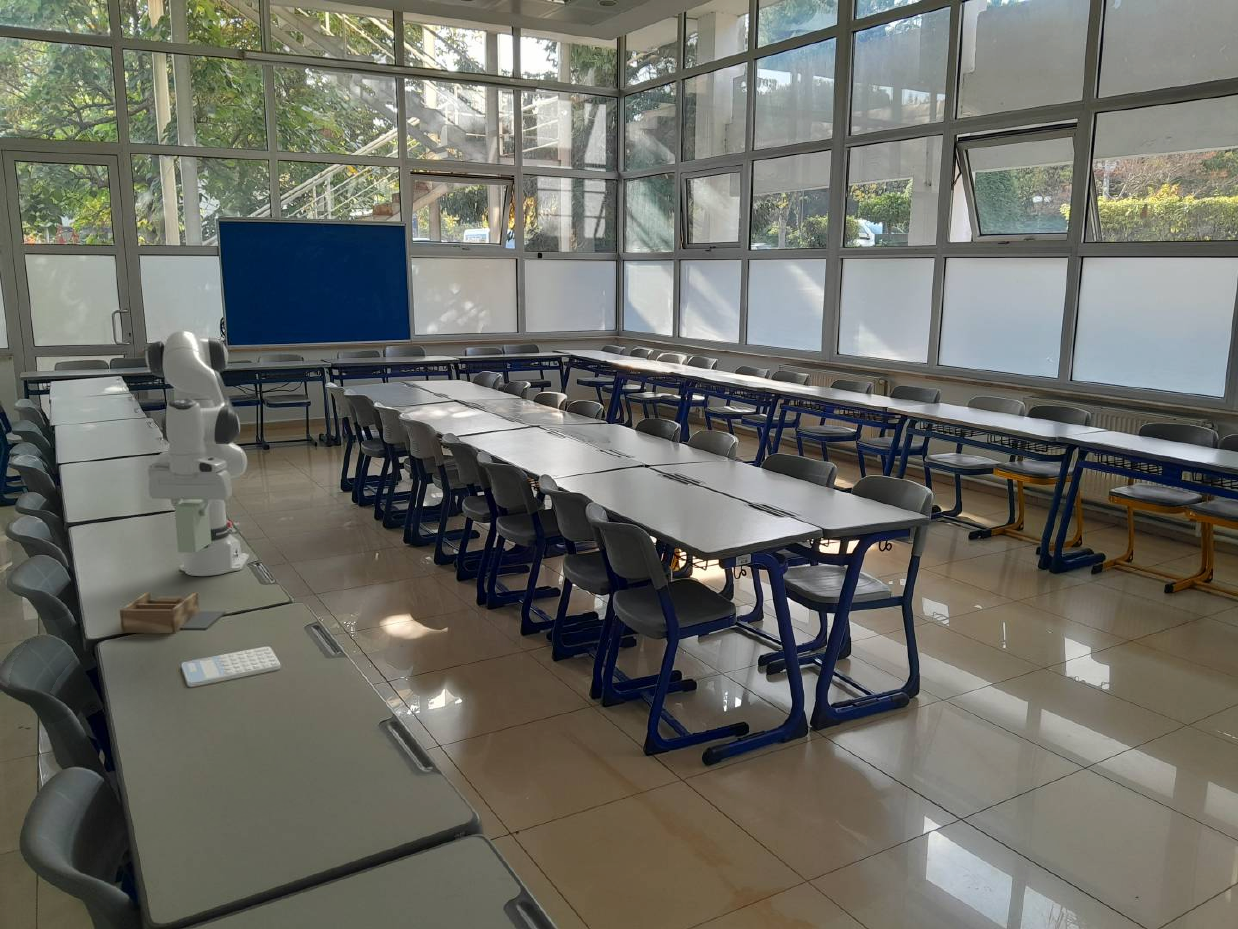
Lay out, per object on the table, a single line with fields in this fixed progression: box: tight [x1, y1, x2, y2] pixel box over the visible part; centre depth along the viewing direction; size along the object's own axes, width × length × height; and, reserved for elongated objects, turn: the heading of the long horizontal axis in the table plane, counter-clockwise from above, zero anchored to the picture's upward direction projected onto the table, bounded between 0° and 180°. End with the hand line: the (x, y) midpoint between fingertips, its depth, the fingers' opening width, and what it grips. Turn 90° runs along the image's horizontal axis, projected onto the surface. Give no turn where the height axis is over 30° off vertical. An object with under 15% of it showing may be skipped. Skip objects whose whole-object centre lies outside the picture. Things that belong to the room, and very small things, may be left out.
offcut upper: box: [153, 596, 183, 604], centre depth 244 cm, size 4×6×2 cm, turn 91°
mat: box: [180, 610, 226, 631], centre depth 242 cm, size 12×7×1 cm, turn 1°
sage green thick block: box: [173, 499, 211, 554], centre depth 237 cm, size 4×9×12 cm, turn 0°
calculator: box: [180, 646, 282, 688], centre depth 213 cm, size 13×20×2 cm, turn 122°
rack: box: [119, 591, 200, 634], centre depth 240 cm, size 14×14×6 cm
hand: (192, 515), depth 236 cm, fingers closed on sage green thick block, 4 cm apart
